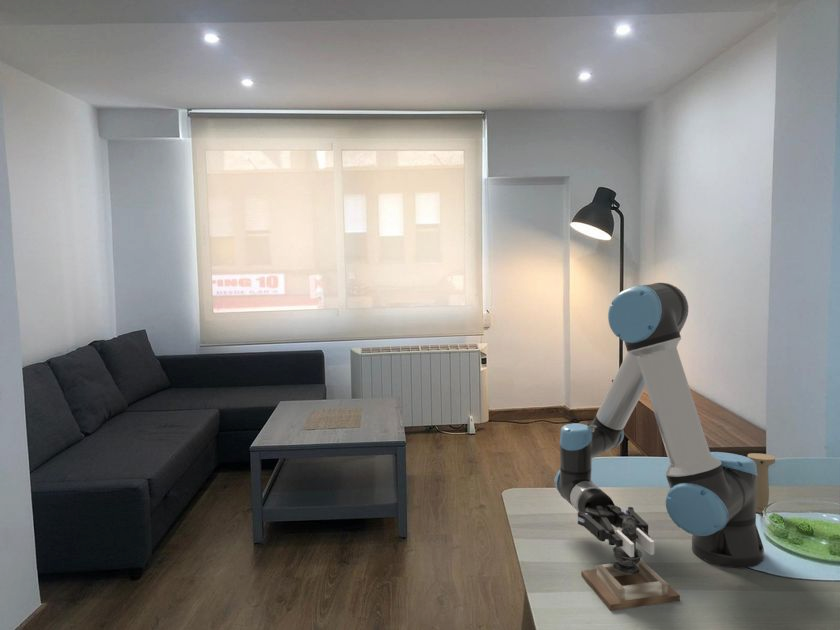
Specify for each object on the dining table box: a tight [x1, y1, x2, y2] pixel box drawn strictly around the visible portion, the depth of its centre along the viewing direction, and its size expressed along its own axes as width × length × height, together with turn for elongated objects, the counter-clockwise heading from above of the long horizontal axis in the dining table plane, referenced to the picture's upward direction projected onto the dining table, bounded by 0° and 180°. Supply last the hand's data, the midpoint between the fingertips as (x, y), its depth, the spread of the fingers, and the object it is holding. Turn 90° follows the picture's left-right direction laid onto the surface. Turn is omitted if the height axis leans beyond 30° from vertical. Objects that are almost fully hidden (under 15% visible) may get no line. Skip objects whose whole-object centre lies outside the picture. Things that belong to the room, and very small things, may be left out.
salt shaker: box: [612, 513, 643, 575], centre depth 138 cm, size 6×6×12 cm
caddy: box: [580, 559, 681, 612], centre depth 140 cm, size 15×14×4 cm
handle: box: [746, 452, 776, 514], centre depth 174 cm, size 5×6×15 cm
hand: (642, 549), depth 133 cm, fingers closed on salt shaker, 4 cm apart
